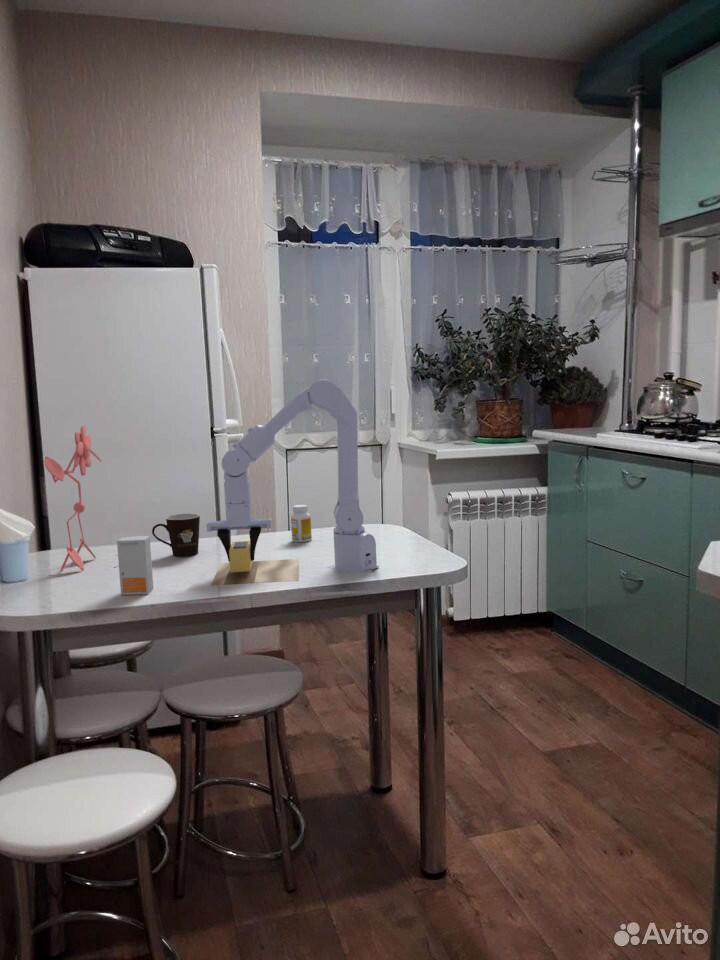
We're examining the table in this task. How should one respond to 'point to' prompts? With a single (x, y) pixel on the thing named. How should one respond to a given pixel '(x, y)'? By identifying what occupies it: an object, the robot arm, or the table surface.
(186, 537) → the coffee mug
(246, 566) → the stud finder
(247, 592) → the table surface
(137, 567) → the skincare box
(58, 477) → the figurine
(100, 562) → the table surface
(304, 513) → the supplement bottle
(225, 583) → the subfloor board
